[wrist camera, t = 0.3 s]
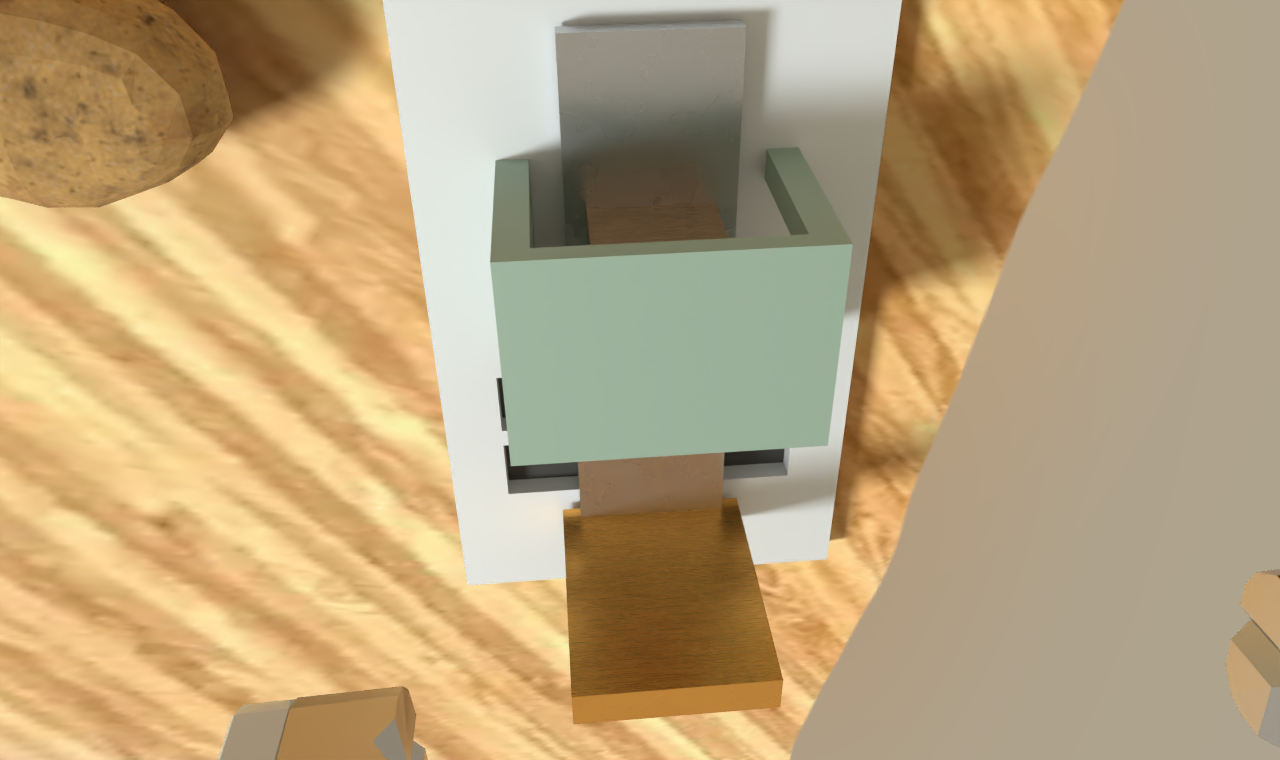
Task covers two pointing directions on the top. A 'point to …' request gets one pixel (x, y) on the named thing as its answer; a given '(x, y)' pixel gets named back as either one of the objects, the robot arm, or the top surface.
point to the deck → (462, 227)
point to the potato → (102, 100)
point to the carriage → (668, 485)
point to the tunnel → (669, 332)
